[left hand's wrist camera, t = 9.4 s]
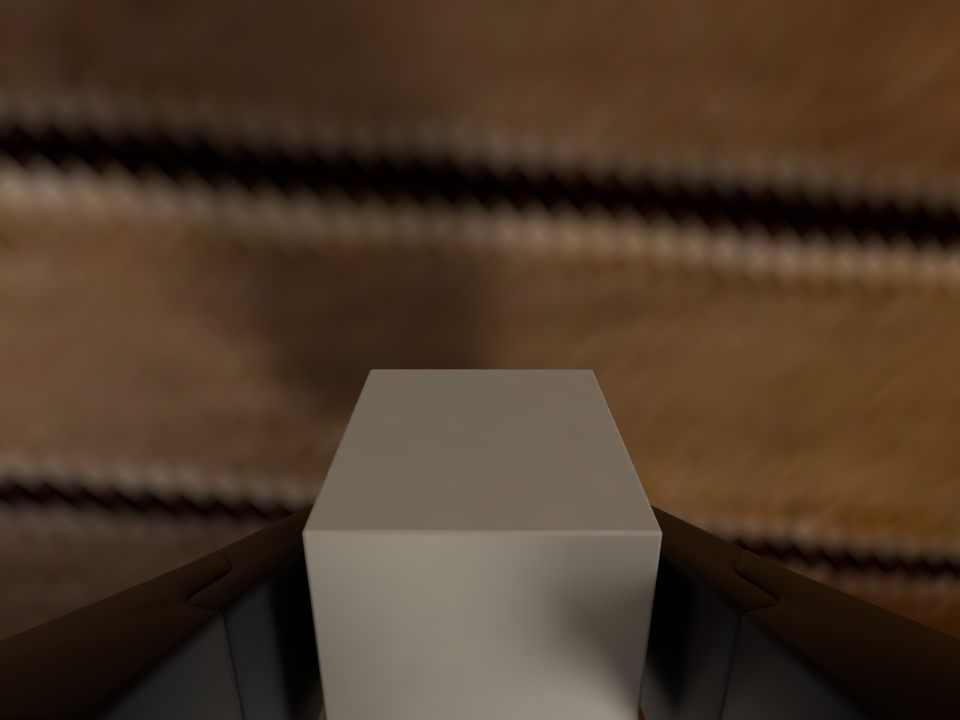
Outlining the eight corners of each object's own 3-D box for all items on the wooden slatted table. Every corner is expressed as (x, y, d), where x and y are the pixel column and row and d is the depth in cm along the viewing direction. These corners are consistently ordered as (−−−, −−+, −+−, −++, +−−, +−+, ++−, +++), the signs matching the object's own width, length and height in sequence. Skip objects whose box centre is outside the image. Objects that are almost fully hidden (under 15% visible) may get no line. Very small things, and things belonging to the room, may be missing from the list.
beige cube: (384, 576, 14) (335, 814, 9) (369, 368, 12) (299, 531, 7) (578, 577, 14) (627, 814, 9) (593, 368, 12) (664, 532, 7)
